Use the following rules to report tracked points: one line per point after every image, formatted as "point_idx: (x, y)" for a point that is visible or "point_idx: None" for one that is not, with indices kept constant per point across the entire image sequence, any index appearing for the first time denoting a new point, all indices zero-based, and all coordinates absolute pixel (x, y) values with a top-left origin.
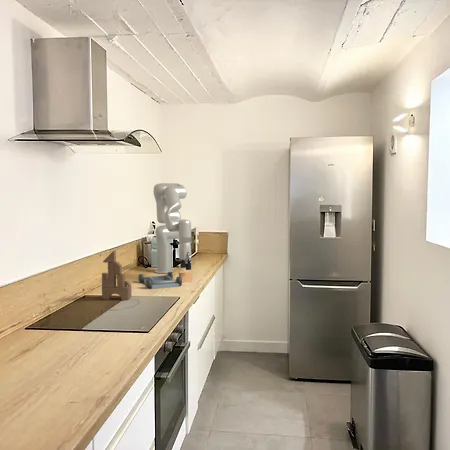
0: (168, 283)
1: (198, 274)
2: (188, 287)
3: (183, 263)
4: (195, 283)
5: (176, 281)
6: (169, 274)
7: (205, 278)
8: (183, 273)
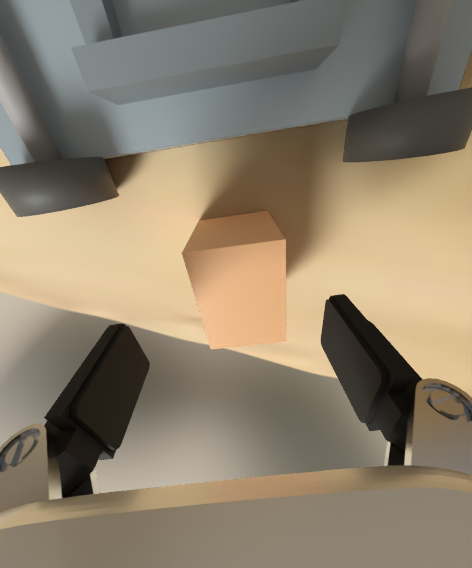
0: (7, 21)
1: (422, 358)
2: (11, 240)
3: (351, 374)
4: (161, 304)
5: (31, 149)
6: (380, 109)
7: (292, 366)
8: (190, 275)
